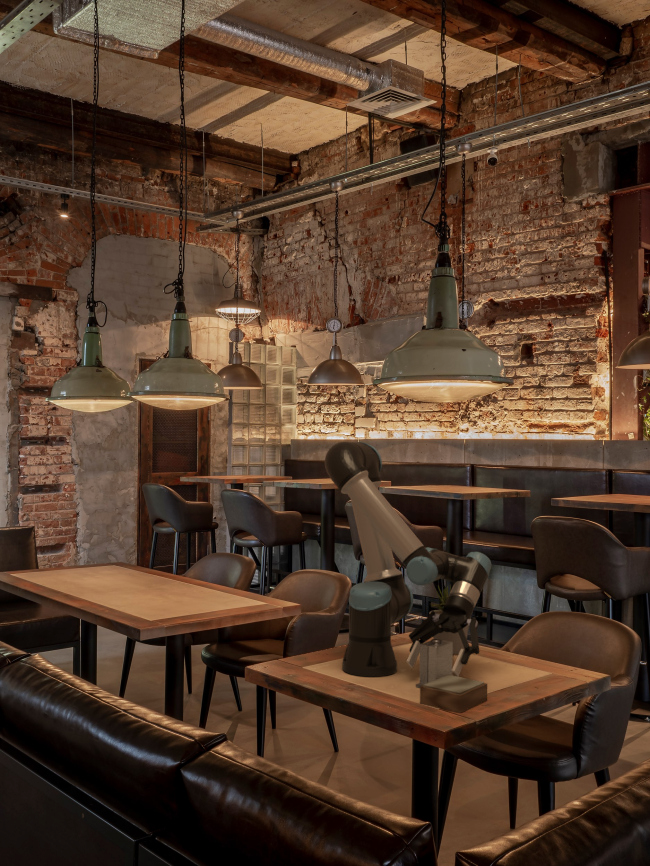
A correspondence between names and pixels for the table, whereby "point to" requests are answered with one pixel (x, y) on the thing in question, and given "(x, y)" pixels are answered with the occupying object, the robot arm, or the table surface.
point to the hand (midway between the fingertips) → (431, 669)
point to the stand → (453, 693)
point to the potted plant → (448, 635)
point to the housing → (435, 660)
